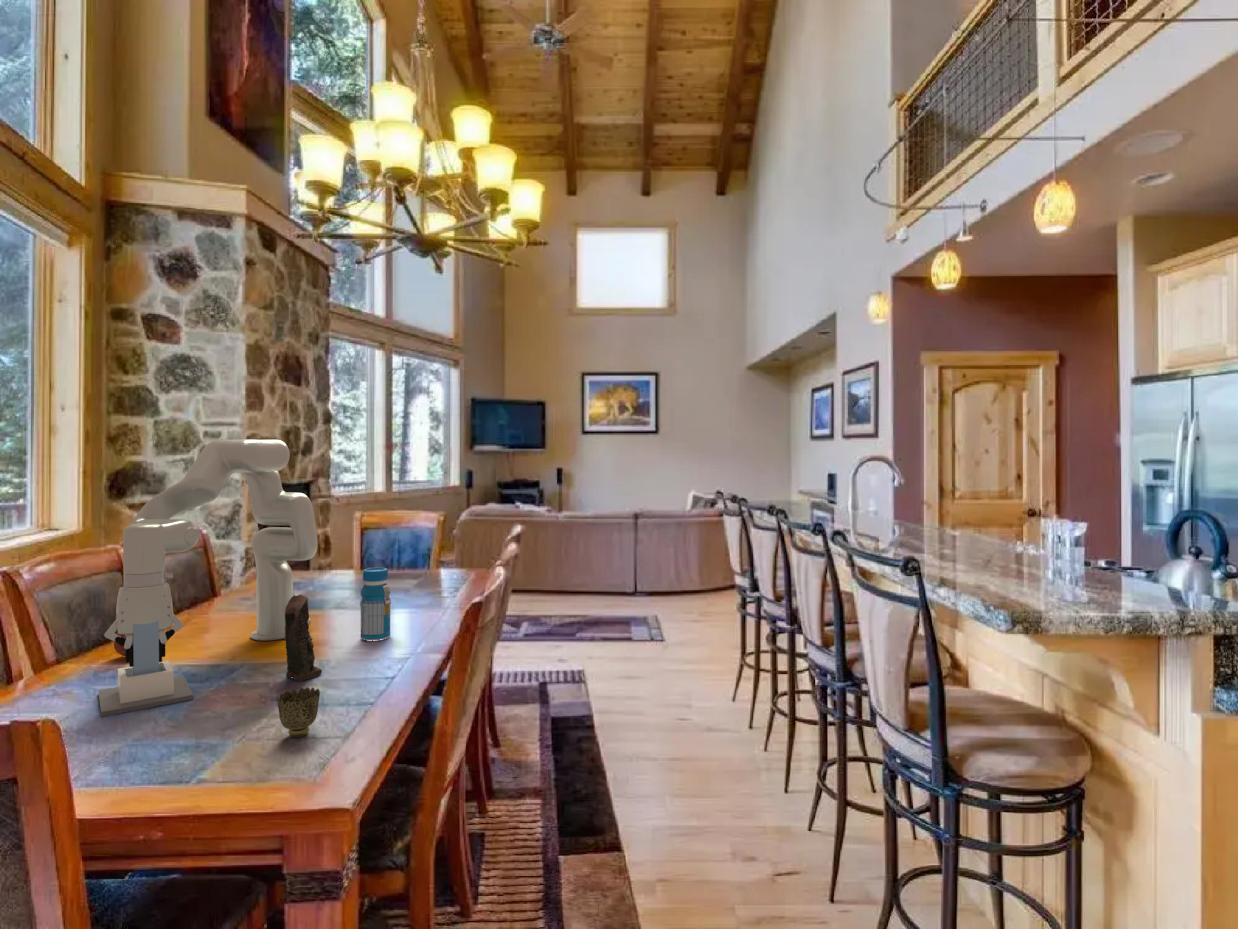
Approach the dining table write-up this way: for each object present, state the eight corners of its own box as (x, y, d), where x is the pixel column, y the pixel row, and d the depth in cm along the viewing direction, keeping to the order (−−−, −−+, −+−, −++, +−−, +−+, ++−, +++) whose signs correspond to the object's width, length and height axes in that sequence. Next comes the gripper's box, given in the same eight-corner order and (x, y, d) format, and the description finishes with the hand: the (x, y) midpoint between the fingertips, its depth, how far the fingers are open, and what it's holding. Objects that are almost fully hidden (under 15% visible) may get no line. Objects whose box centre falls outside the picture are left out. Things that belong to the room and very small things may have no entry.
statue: (323, 674, 165) (322, 592, 165) (300, 683, 159) (300, 598, 158) (300, 671, 168) (300, 590, 167) (277, 680, 161) (277, 596, 160)
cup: (286, 727, 134) (286, 687, 134) (325, 726, 134) (325, 686, 134) (270, 743, 126) (270, 701, 126) (311, 742, 127) (311, 699, 127)
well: (183, 679, 161) (183, 654, 161) (193, 699, 148) (193, 671, 148) (98, 694, 151) (98, 667, 151) (101, 717, 138) (101, 687, 138)
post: (157, 682, 153) (156, 615, 153) (159, 687, 149) (158, 619, 149) (132, 686, 150) (131, 618, 150) (134, 692, 147) (133, 622, 146)
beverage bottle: (366, 644, 191) (366, 573, 191) (355, 637, 198) (355, 569, 197) (395, 638, 197) (395, 569, 197) (384, 632, 203) (383, 565, 203)
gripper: (187, 573, 157) (188, 652, 158) (95, 582, 147) (96, 666, 147) (192, 578, 152) (193, 659, 152) (96, 587, 141) (97, 675, 141)
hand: (145, 662), depth 150 cm, fingers closed on post, 4 cm apart
